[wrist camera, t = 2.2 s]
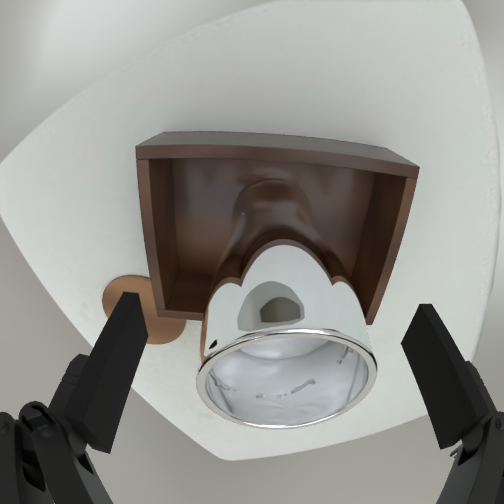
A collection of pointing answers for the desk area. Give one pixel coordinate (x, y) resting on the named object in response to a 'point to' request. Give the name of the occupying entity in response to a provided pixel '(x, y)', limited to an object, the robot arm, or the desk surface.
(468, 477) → the robot arm
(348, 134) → the desk surface
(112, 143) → the desk surface
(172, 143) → the crate
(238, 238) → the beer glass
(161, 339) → the coaster
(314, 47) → the desk surface
